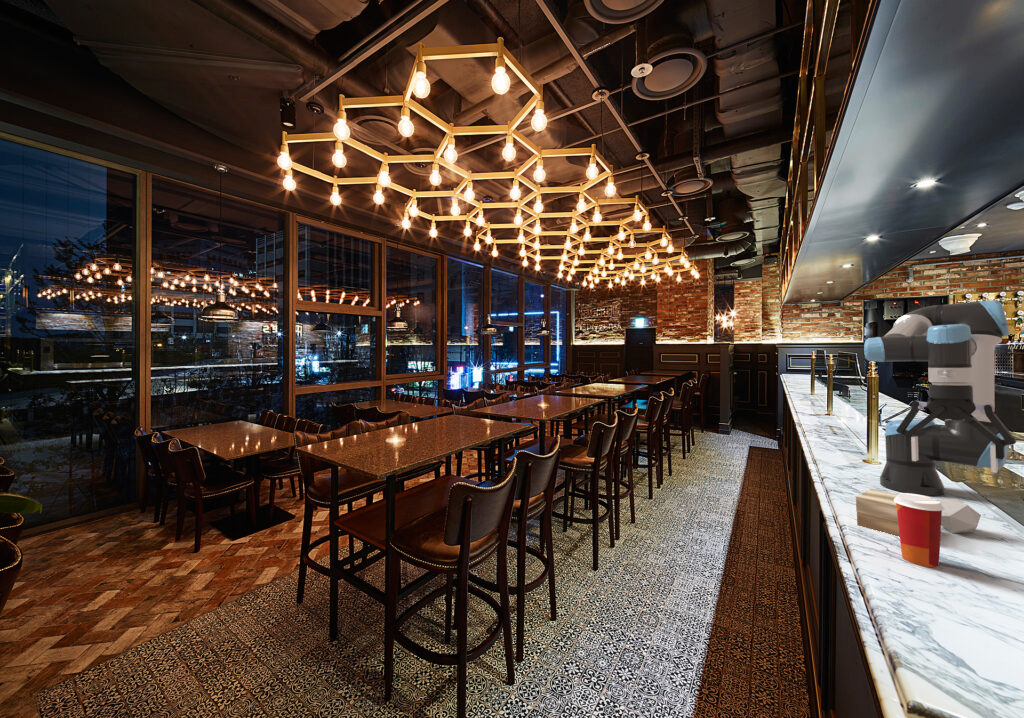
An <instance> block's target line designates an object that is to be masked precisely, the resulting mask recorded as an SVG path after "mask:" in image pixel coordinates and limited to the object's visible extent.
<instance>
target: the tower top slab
mask: <svg viewBox="0 0 1024 718" xmlns="http://www.w3.org/2000/svg"><path fill="white" fill-rule="evenodd" d="M897 494H898V493H892V492H888V491H882V490H877V489H873V488H871V489H868V490H867V491H864V492H863V493H861V494H859V495H856V496H855V506H856V507H855V508H856V509H855V510H856V511H855V512H856V513H857V512H860V513H864V514H868V515H872V516H876V517H880V518H884V519H888V520H892V521H896V522H898V517H897V508H896V503H895V502H894V499H895V498H896V496H897Z"/></svg>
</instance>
